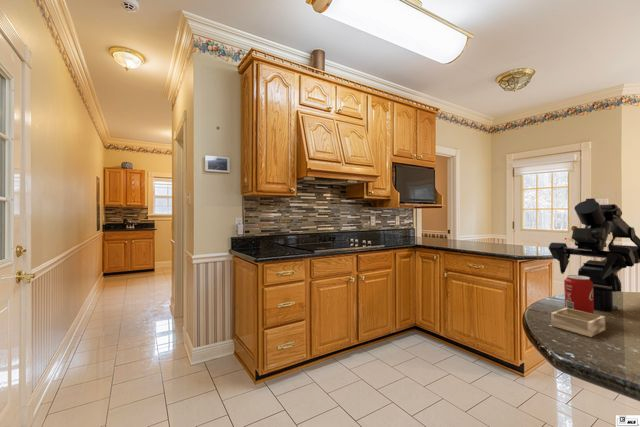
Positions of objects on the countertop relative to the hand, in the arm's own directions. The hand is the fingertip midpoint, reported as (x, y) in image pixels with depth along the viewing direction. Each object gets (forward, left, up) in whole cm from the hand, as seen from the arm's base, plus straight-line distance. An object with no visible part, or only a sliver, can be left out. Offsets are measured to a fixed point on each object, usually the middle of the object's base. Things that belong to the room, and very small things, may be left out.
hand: (580, 275), depth 85 cm
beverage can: (+2, 0, -12) cm, 12 cm away
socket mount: (+11, +3, -12) cm, 17 cm away
